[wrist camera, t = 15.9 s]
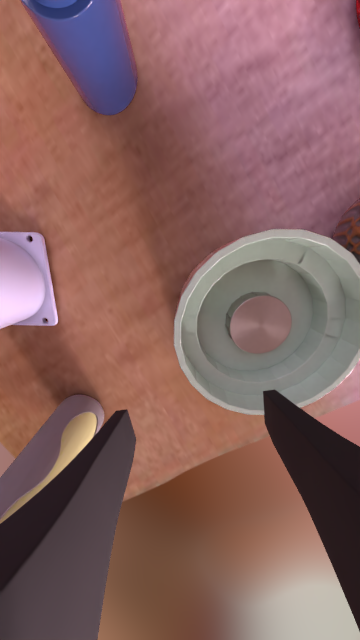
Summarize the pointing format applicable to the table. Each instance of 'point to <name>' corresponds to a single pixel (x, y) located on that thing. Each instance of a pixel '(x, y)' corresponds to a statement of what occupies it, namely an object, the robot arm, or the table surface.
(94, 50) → the jar
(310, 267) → the bowl
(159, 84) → the table surface
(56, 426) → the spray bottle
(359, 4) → the soda can
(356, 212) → the vase
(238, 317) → the lid
